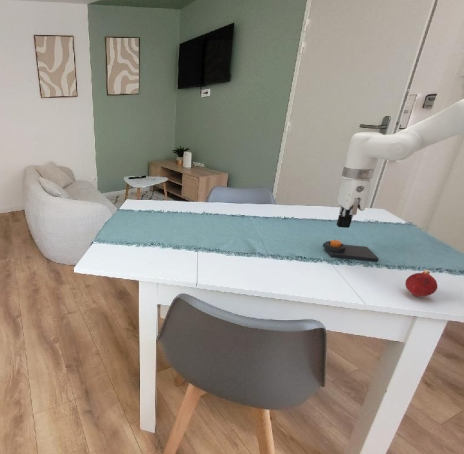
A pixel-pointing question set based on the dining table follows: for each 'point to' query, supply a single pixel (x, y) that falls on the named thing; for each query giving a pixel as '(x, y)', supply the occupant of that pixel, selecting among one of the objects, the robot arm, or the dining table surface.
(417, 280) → the onion
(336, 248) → the scale
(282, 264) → the dining table surface
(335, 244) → the tare button
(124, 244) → the dining table surface
